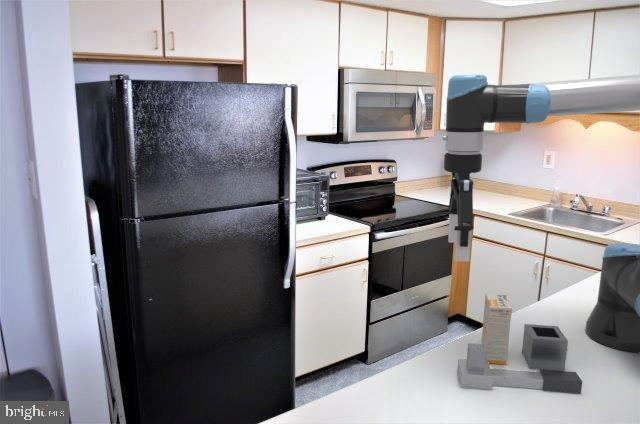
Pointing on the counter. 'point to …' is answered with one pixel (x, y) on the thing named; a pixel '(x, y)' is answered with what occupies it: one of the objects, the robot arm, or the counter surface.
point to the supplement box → (496, 328)
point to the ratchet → (511, 375)
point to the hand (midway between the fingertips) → (458, 251)
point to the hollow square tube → (544, 347)
